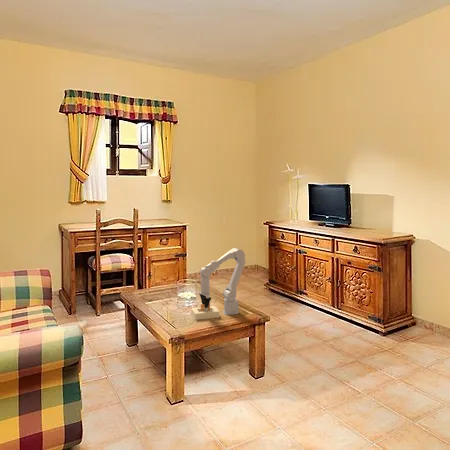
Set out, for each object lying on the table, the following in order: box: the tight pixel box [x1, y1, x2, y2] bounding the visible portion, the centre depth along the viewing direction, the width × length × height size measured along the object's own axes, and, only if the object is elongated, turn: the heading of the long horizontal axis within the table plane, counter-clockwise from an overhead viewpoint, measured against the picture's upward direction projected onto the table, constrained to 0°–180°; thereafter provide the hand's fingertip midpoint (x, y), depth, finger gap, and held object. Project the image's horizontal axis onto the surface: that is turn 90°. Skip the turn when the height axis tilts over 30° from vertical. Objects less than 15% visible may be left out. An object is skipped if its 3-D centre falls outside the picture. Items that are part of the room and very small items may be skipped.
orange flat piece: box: [200, 303, 211, 312], centre depth 261 cm, size 6×1×6 cm, turn 107°
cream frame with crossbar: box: [191, 305, 221, 321], centre depth 261 cm, size 16×12×6 cm
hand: (205, 306), depth 261 cm, fingers open, 7 cm apart
